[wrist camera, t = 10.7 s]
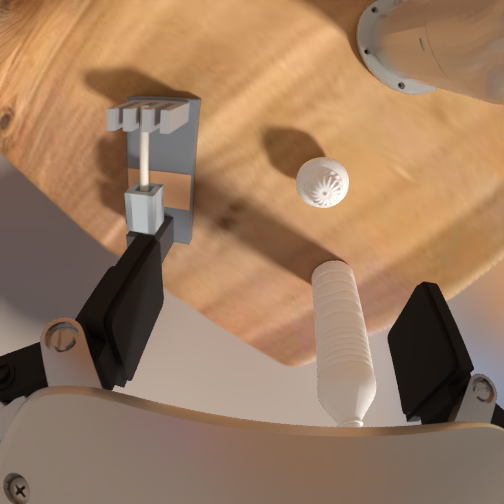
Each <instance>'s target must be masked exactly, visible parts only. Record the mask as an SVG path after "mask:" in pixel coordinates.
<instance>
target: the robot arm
mask: <svg viewBox="0 0 504 504" xmlns="http://www.w3.org/2000/svg"><path fill="white" fill-rule="evenodd" d="M371 9H373V10H374V11H375V13H373V12H372V11H371ZM356 42H357V46H358V51H359V53H360V56H361V58H362V60H363V62H364V63H365V65H366V67H367V68H368V70H369V71H370V72H371V73H372V74H373V75H374V76H375V77H376V78H377V79H378V80H379V81H381V82H382V83H383V84H385V85H386V86H388V87H390V88H392V89H394V90H397V91H399V92H403V93H406V94H414V95H417V94H426V93H429V92H432V91H434V90H436V89H438V88H440V89H444V90H448V91H451V92H455V93H458V94H462V95H465V96H469V97H472V98H475V99H478V100H482V101H485V102H489V103H493V104H501V105H504V0H376V1H374V2H373V3H371V4H370V5H369V6H368V7H367V8H366V9H365V10H364V11H363V13H362V14H361V16H360V18H359V20H358V23H357V29H356ZM364 50H367V51H368V53H367V54H366V53H364ZM399 83H400V84H401V86H400V87H398V84H399ZM163 300H164V295H163V282H162V266H161V247H160V241H157V240H156V238H155V236H152V235H146V234H141V233H139V234H138V235H137V236H136V237H135V239H134V240H133V241H132V243H131V244H130V246H129V247H128V248H127V250H126V251H125V253H124V254H123V255H122V257H121V258H120V260H119V261H118V263H117V264H116V266H112V267H110V268H109V269H108V270H107V272H106V273H105V275H104V276H103V278H102V279H101V281H100V282H99V284H98V285H97V287H96V288H95V290H94V291H93V293H92V294H91V296H90V297H89V299H88V300H87V302H86V303H85V305H84V306H83V308H82V310H81V311H80V313H79V314H78V316H77V318H76V319H75V320H73V319H70V318H61V319H57V320H54V321H52V322H51V323H49V324H48V325H47V326H46V327H45V328H44V330H43V331H42V334H41V337H40V342H38V343H35V344H33V345H30V346H27V347H25V348H22V349H19V350H17V351H14V352H11V353H8V354H6V355H3V356H0V504H504V410H503V409H502V408H501V407H500V406H499V405H497V404H496V399H497V392H496V389H495V386H494V384H493V382H492V381H491V380H490V379H489V378H488V377H486V376H485V375H483V374H475V375H473V376H472V377H471V374H470V372H472V371H473V370H474V367H473V364H472V362H471V359H470V356H469V354H468V351H467V349H466V346H465V344H464V341H463V339H462V336H461V334H460V332H459V330H458V327H457V325H456V323H455V320H454V318H453V316H452V314H451V311H450V310H449V307H448V305H447V303H446V301H445V299H444V297H443V295H442V293H441V291H440V289H439V287H438V285H437V284H435V283H430V282H422V283H421V284H420V285H417V286H416V288H415V290H414V291H413V293H412V295H411V297H410V298H409V300H408V302H407V304H406V305H405V307H404V309H403V310H402V312H401V314H400V315H399V317H398V319H397V320H396V322H395V323H394V325H393V327H392V328H391V330H390V332H389V334H388V344H389V348H390V353H391V356H392V361H393V365H394V370H395V375H396V380H397V385H398V390H399V394H400V400H401V406H402V411H403V413H404V414H405V415H406V418H407V422H413V421H419V420H420V419H421V423H422V424H421V425H412V426H395V427H320V426H303V425H290V424H280V423H270V422H261V421H253V420H246V419H239V418H232V417H226V416H220V415H215V414H209V413H204V412H199V411H194V410H189V409H184V408H180V407H175V406H171V405H166V404H162V403H157V402H153V401H150V400H146V399H142V398H138V397H134V396H130V395H126V394H122V393H118V392H114V391H111V390H113V388H114V385H117V386H120V387H125V384H126V382H127V380H128V381H131V380H132V379H133V376H134V374H135V371H136V369H137V366H138V364H139V361H140V358H141V356H142V353H143V351H144V349H145V346H146V344H147V341H148V339H149V337H150V334H151V332H152V329H153V327H154V324H155V322H156V320H157V318H158V315H159V313H160V311H161V308H162V306H163Z"/></svg>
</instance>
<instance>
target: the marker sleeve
mask: <svg viewBox="0 0 504 504" xmlns="http://www.w3.org/2000/svg"><path fill="white" fill-rule="evenodd" d="M125 206H126V218H127V229H128V230H129V231H135V232H141V233H147V234H153V235H155V233H156V232H157V230H158V229H159V227H160V226H161V224H162V223H163V221H164V184H156V183H149V193H148V192H140V182H139V181H137V182H136V183H134V184H133V185H132V186H131V187H130V188H129V189H128V190H127V191H126V192H125Z"/></svg>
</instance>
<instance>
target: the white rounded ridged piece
mask: <svg viewBox="0 0 504 504" xmlns="http://www.w3.org/2000/svg"><path fill="white" fill-rule="evenodd" d="M348 186H349V178H348V174H347V172H346V170H345V168H344V167H343V166H342V165H341V164H340V163H339V162H338V161H336V160H334V159H331V158H327V157H318V158H314V159H311V160H309V161H307V162H306V163H304V164H303V165H302V166H301V168H300V169H299V171H298V174H297V177H296V188H297V191H298V194H299V195H300V197H301V198H302V199H303V200H304V201H305V202H306V203H308V204H309V205H312V206H315V207H320V208H326V207H331V206H333V205H336V204H337V203H339V202H340V201H341V200H342V199H343V198H344V196H345V195H346V193H347V190H348Z"/></svg>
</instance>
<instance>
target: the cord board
mask: <svg viewBox="0 0 504 504" xmlns="http://www.w3.org/2000/svg"><path fill="white" fill-rule="evenodd" d="M200 103H201V99H199V98H184V97H165V96H131V97H128V102H126V103H123V104H120V105H117V106H114V107H111V108H108V109H107V131H116V130H118V129H120V128H122V127H123V131H127V167H128V189H129V188H130V187H131V186H132V185H133V184H134V183H136V182H137V181H139V182H140V192H148V193H149V183H156V184H164V221H163V223H162V224H161V226H160V227H159V229H158V230H157V232H156V233H155V235H153V234H147V233H141V232H135V231H130V232H129V233H128V234H127V235H126V239H127V248H128V247H129V246H130V244H131V243H132V241H133V240H134V239H135V237H136V236H137V235H138V234H139V233H141V234H146V235H152V236H155V238H156V240H157V241H160V247H161V264H162V263H163V261H164V259H165V257H166V255H167V253H168V251H169V250H170V248H171V246H172V244H173V242H178V243H184V244H190V242H191V240H192V222H193V199H194V180H195V164H196V150H197V137H198V125H199V113H200Z"/></svg>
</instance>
